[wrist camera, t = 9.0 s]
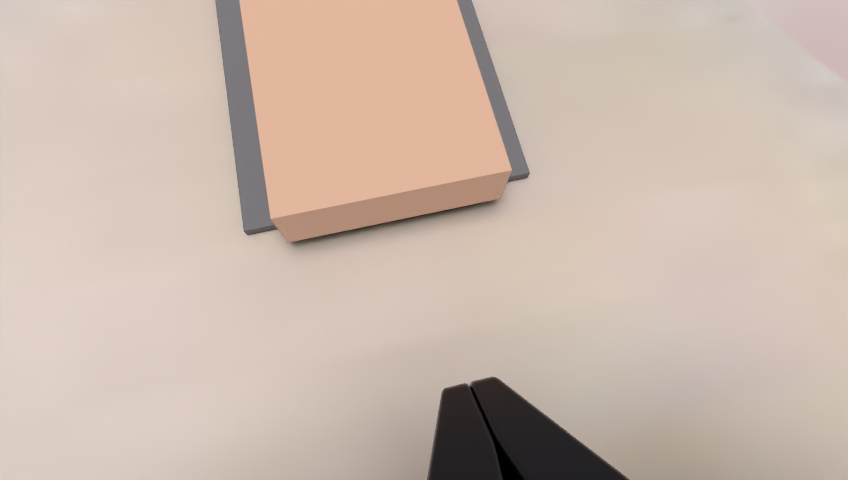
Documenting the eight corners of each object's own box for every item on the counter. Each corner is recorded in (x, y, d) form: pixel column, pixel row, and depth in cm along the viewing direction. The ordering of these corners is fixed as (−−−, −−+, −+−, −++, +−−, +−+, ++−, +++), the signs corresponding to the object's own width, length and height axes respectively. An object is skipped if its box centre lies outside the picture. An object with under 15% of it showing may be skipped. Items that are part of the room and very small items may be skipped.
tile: (511, 169, 17) (440, -51, 20) (270, 219, 16) (236, -20, 19) (499, 200, 19) (437, -1, 22) (288, 244, 18) (255, 29, 21)
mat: (527, 177, 20) (529, 172, 19) (247, 234, 19) (243, 231, 18) (447, -62, 24) (448, -69, 24) (214, -26, 23) (211, -34, 22)
